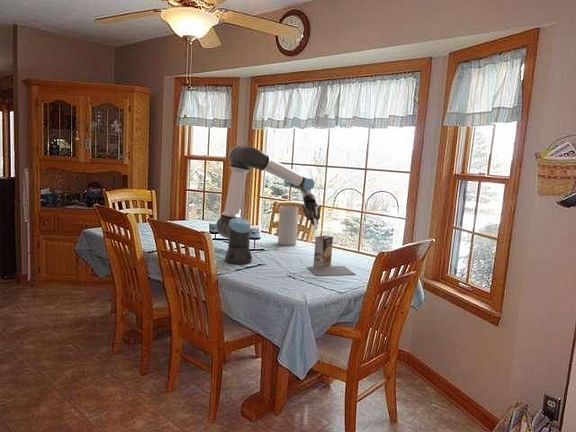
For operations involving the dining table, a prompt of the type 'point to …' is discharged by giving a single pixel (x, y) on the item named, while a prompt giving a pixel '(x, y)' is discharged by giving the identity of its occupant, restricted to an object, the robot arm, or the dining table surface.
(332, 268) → the mat
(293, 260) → the dining table surface
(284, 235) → the cylinder vase
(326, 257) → the coffee box
